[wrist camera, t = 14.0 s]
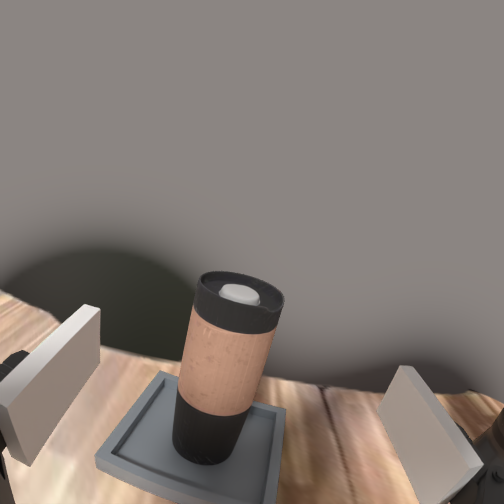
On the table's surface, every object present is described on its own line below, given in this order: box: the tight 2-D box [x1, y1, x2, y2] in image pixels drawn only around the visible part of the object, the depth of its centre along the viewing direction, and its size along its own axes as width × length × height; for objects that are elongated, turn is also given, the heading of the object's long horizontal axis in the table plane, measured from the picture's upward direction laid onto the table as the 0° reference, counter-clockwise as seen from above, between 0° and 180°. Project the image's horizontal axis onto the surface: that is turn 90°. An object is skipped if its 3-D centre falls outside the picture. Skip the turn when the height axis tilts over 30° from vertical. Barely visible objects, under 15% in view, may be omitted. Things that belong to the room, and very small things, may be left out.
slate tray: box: [95, 371, 286, 504], centre depth 31 cm, size 18×18×2 cm
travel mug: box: [172, 271, 284, 465], centre depth 29 cm, size 8×8×20 cm
